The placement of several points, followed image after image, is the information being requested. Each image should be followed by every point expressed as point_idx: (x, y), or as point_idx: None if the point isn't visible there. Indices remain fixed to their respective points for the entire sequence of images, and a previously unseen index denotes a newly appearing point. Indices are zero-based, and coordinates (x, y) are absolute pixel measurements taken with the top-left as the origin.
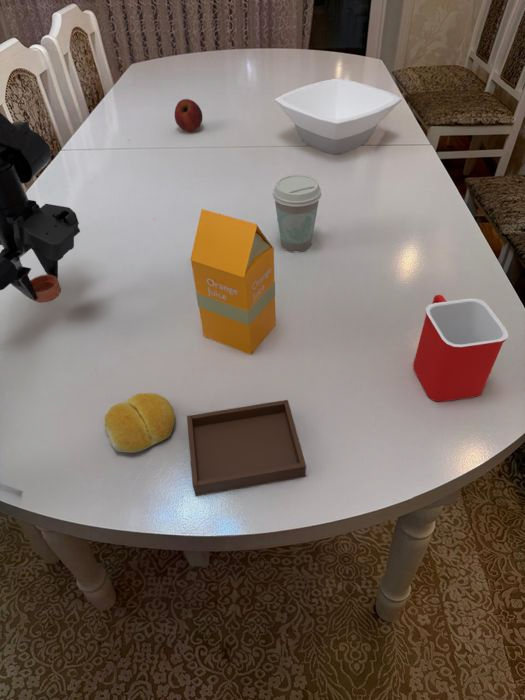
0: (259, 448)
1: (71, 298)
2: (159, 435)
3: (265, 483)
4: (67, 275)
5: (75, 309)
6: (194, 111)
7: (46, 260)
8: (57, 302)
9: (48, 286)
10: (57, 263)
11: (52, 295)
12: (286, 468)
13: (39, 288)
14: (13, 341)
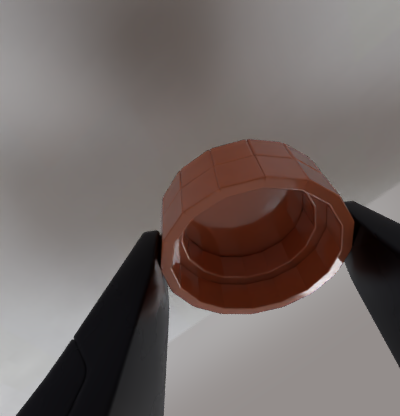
0: None
1: (119, 155)
2: None
3: None
4: (39, 255)
5: (163, 84)
6: None
7: (147, 389)
8: (167, 183)
9: (195, 237)
10: (92, 318)
11: (282, 153)
12: None
13: (226, 256)
14: (395, 163)
